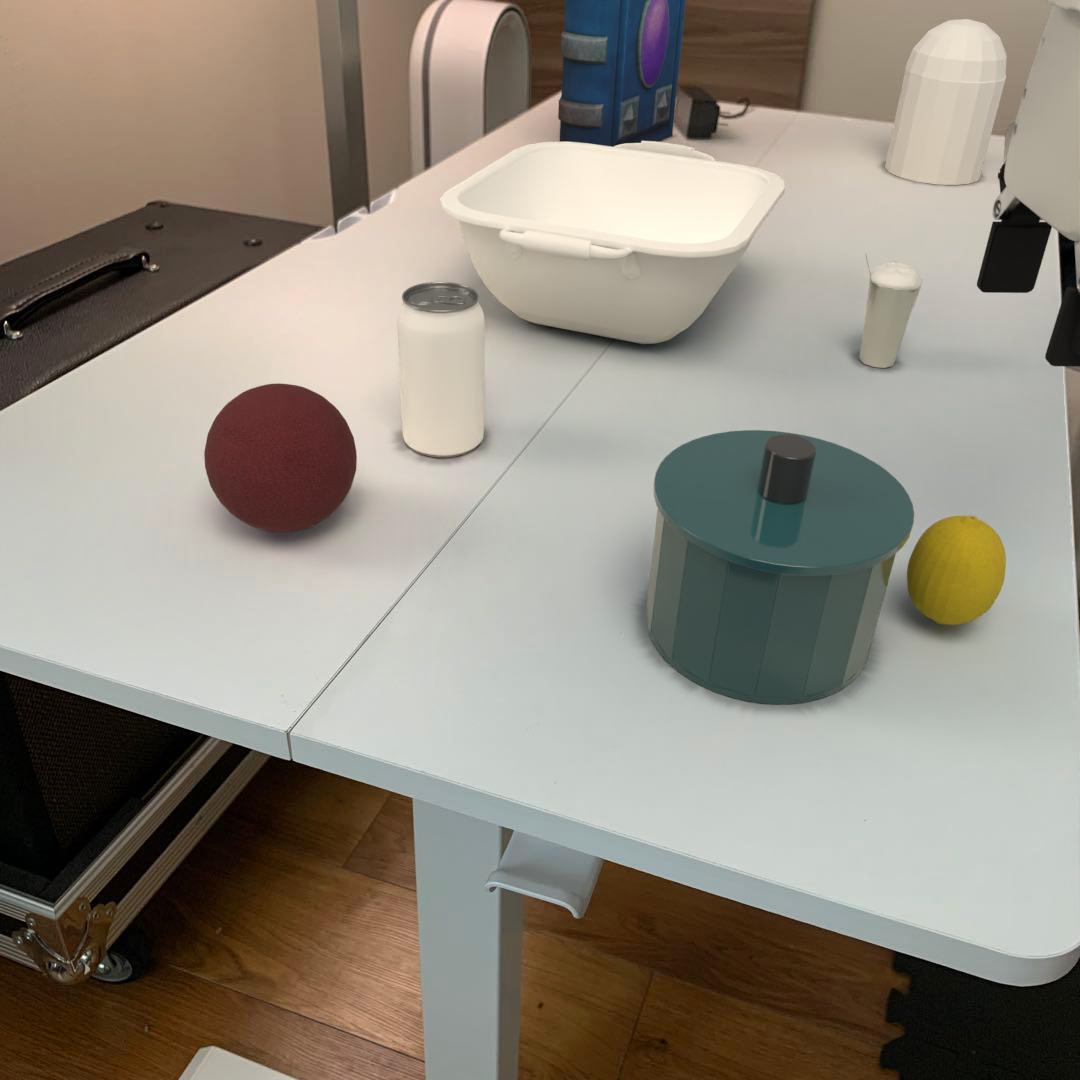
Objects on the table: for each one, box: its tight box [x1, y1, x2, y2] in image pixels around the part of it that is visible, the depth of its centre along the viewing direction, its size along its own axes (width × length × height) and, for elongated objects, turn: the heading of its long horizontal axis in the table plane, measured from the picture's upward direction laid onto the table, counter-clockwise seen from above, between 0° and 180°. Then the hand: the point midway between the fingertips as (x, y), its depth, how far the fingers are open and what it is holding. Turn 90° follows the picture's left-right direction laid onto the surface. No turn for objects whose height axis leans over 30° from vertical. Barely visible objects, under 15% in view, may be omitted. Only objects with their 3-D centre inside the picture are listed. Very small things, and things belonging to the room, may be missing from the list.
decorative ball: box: [203, 383, 358, 533], centre depth 72 cm, size 10×10×10 cm
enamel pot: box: [646, 508, 897, 705], centre depth 64 cm, size 14×14×10 cm
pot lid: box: [652, 429, 915, 576], centre depth 60 cm, size 15×15×4 cm
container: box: [884, 18, 1008, 186], centre depth 148 cm, size 13×13×20 cm
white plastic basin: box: [438, 141, 786, 345], centre depth 104 cm, size 34×28×13 cm
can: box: [396, 281, 485, 459], centre depth 82 cm, size 6×6×12 cm
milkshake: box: [858, 253, 923, 369], centre depth 97 cm, size 4×5×10 cm
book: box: [557, 0, 686, 147], centre depth 150 cm, size 24×9×30 cm, turn 147°
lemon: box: [906, 514, 1007, 626], centre depth 66 cm, size 6×6×8 cm
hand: (1037, 324), depth 58 cm, fingers open, 9 cm apart
